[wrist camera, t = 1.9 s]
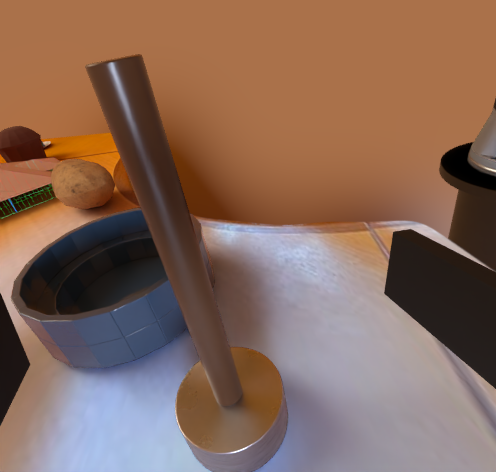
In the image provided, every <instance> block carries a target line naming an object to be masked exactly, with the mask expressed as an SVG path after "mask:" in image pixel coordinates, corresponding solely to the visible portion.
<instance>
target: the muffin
mask: <svg viewBox="0 0 496 472" xmlns="http://www.w3.org/2000/svg"><path fill="white" fill-rule="evenodd" d="M0 154H1V156H2V157H3V158H4V159H5V161H6V162H7V163H11V162H22V161H29V160H32V159H43V158H47V157H46V154H45V151H44V148H43V145H42V142H41V139H40V135H39V134H37V133H36V132H34V131H33V130H31V129H29V128H26V127H22V126H15V127H10V128H7V129H4V130H3V131H1V132H0Z"/></svg>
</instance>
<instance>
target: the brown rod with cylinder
mask: <svg viewBox="0 0 496 472" xmlns="http://www.w3.org/2000/svg"><path fill="white" fill-rule="evenodd" d="M85 68H86V70H87V73H88V75H89V78H90V80H91V83H92V85H93V88H94V90H95V93H96V96H97V98H98V101H99V103H100V106H101V108H102V111H103V114H104V116H105V119H106V121H107V124H108V126H109V129H110V131H111V134H112V136H113V139H114V142H115V144H116V147H117V149H118V152H119V154H120V157H121V159H122V162H123V165H124V167H125V170H126V172H127V175H128V177H129V180H130V182H131V185H132V187H133V190H134V193H135V195H136V198H137V200H138V203H139V205H140V208H141V210H142V213H143V216H144V218H145V221H146V223H147V226H148V228H149V231H150V233H151V236H152V238H153V241H154V244H155V246H156V249H157V251H158V254H159V256H160V259H161V261H162V264H163V266H164V269H165V272H166V274H167V277H168V279H169V282H170V284H171V287H172V289H173V292H174V295H175V297H176V300H177V302H178V305H179V307H180V310H181V312H182V315H183V317H184V320H185V323H186V325H187V328H188V330H189V333H190V335H191V338H192V340H193V343H194V346H195V348H196V351H197V353H198V356H199V358H200V361H198V362H197V363H196V364H195V365H194V366H193V367H192V368H191V369H190V370H189V372H188V373H187V374H186V376H185V377H184V379H183V381H182V382H181V385H180V387H179V390H178V393H177V397H176V402H175V414H176V420H177V423H178V426H179V429H180V431H181V432H182V434H183V436H184V438H185V440H186V441H187V443H188V445H189V447H190V449H191V450H192V452H193V454H194V456H195V457H196V459H197V460H198V461H199V462H200V463H201V464H202V465H203V466H204V467H205V468H207V469H208V470H210V471H212V472H253V471H255V470H257V469H258V468H260V467H262V466H263V465H264V464H266V463H267V462H268V461H269V460H270V459H271V458H272V457H273V456H274V454H275V453H276V452H277V451H278V449H279V447H280V445H281V444H282V441H283V439H284V437H285V433H286V430H287V423H288V413H287V406H286V400H285V394H284V389H283V384H282V380H281V377H280V374H279V372H278V370H277V368H276V367H275V365H274V364H273V363H272V362H271V361H270V360H269V359H268V358H267V357H266V356H264V355H263V354H261V353H259V352H258V351H255V350H252V349H249V348H243V347H230V346H229V343H228V340H227V336H226V333H225V330H224V326H223V323H222V320H221V316H220V313H219V310H218V306H217V303H216V300H215V296H214V293H213V290H212V286H211V283H210V280H209V276H208V273H207V270H206V266H205V263H204V260H203V257H202V253H201V250H200V247H199V243H198V240H197V237H196V233H195V230H194V227H193V223H192V220H191V217H190V213H189V210H188V207H187V203H186V200H185V197H184V193H183V191H182V187H181V183H180V180H179V177H178V174H177V170H176V167H175V163H174V161H173V157H172V154H171V150H170V147H169V144H168V140H167V137H166V134H165V130H164V127H163V124H162V120H161V117H160V114H159V110H158V107H157V104H156V101H155V97H154V94H153V91H152V87H151V84H150V80H149V77H148V74H147V70H146V67H145V64H144V61H143V57H142V55H140V54H138V55H132V56H126V57H121V58H117V59H111V60H106V61H101V62H97V63H92V64H88V65H86V66H85Z"/></svg>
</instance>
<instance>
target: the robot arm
mask: <svg viewBox="0 0 496 472" xmlns="http://www.w3.org/2000/svg"><path fill="white" fill-rule="evenodd" d="M467 161H468V164H469V165H470V166H471V167H472V168H473V169H474V170H476V171H478V172H480V173H482V174H485V175H488V176H491V177H494V178H496V99H495V103H494V107H493V111H492V113H491V115H490V117H489V118H488V120H487V122H486V123H485V125H484V126H483V128H482V130H481V131H480V133H479V135H478V136H477V138H476V139H475V141H474V143H473V144H472V146H471V149H470V151H469V155H468V160H467ZM384 294H385V295H387V296H388V297H389V298H390V299H391V300H392V301H394V302H395V303H396V304H397V305H398V306H399V307H401V308H402V309H403V310H404V311H405V312H406V313H408V314H409V315H410V316H411V317H412V318H413V319H415V320H416V321H417V322H418V323H419V324H420V325H422V326H423V327H424V328H425V329H426V330H427V331H429V332H430V333H431V334H432V335H433V336H435V337H436V338H437V339H438V340H439V341H440V342H442V343H443V344H444V345H445V346H446V347H447V348H449V349H450V350H451V351H452V352H453V353H454V354H456V355H457V356H458V357H459V358H460V359H461V360H463V361H464V362H465V363H466V364H467V365H468V366H470V367H471V368H472V369H473V370H474V371H475V372H477V373H478V374H479V375H480V376H481V377H482V378H484V379H485V380H486V381H487V382H488V383H489V384H491V385H492V386H493V387H494V388H495V389H496V272H494V271H492V270H490V269H488V268H486V267H484V266H482V265H480V264H478V263H476V262H474V261H472V260H471V259H469V258H467V257H465V256H463V255H461V254H459V253H457V252H455V251H453V250H451V249H449V248H447V247H445V246H443V245H441V244H439V243H437V242H435V241H433V240H431V239H429V238H427V237H425V236H423V235H421V234H419V233H417V232H416V231H414V230H412V229H409V230H402V231H396V232H393V238H392V245H391V251H390V258H389V265H388V272H387V279H386V285H385V292H384ZM29 366H30V363H29V360H28V358H27V356H26V353H25V351H24V348H23V346H22V344H21V341H20V339H19V336H18V334H17V332H16V329H15V327H14V324H13V322H12V320H11V317H10V315H9V312H8V310H7V308H6V305H5V303H4V300H3V298H2V296H1V293H0V425H1V423H2V421H3V419H4V417H5V415H6V413H7V411H8V409H9V407H10V405H11V403H12V401H13V399H14V397H15V395H16V393H17V391H18V388H19V386H20V384H21V382H22V380H23V378H24V376H25V374H26V372H27V370H28V368H29Z"/></svg>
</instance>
